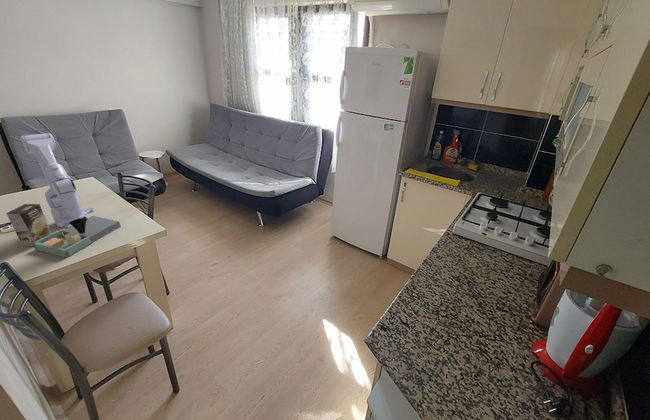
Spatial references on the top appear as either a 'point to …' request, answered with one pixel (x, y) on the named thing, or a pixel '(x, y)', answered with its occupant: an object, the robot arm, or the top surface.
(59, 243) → the tile
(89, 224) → the board
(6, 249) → the top surface
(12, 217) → the coffee box
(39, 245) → the tray
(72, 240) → the tile
